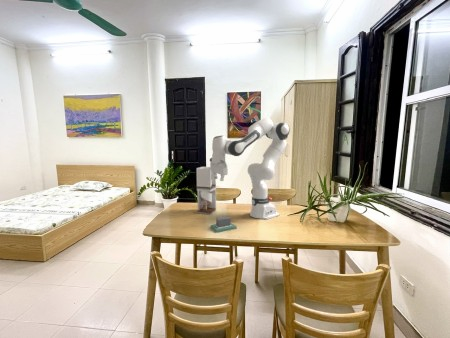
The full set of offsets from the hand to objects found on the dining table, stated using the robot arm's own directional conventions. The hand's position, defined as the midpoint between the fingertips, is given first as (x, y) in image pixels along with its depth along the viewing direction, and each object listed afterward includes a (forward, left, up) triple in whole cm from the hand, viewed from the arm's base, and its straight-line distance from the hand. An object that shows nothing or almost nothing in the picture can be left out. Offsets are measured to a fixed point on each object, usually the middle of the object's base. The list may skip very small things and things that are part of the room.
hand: (218, 179), depth 155 cm
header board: (+3, +13, -29) cm, 32 cm away
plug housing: (+3, +13, -28) cm, 31 cm away
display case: (0, -22, -29) cm, 37 cm away
